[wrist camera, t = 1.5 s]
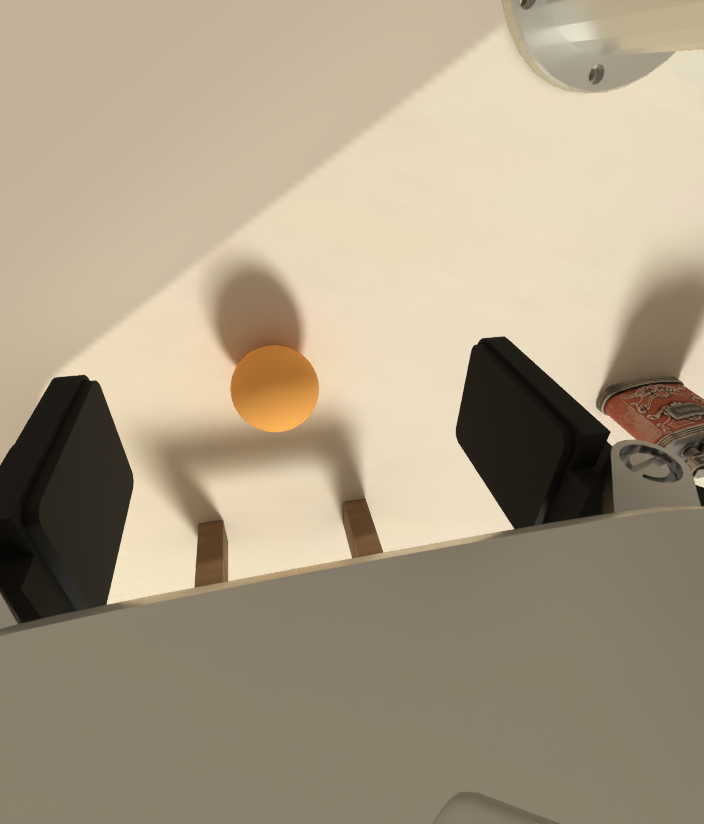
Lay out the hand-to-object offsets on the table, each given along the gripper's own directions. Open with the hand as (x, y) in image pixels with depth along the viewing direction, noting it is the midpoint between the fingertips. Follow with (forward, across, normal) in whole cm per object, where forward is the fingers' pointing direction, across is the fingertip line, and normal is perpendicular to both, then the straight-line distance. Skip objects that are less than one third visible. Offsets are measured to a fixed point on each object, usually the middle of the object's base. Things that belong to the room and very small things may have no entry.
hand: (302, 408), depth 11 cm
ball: (+16, 0, +9) cm, 18 cm away
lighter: (+18, -32, +16) cm, 40 cm away
